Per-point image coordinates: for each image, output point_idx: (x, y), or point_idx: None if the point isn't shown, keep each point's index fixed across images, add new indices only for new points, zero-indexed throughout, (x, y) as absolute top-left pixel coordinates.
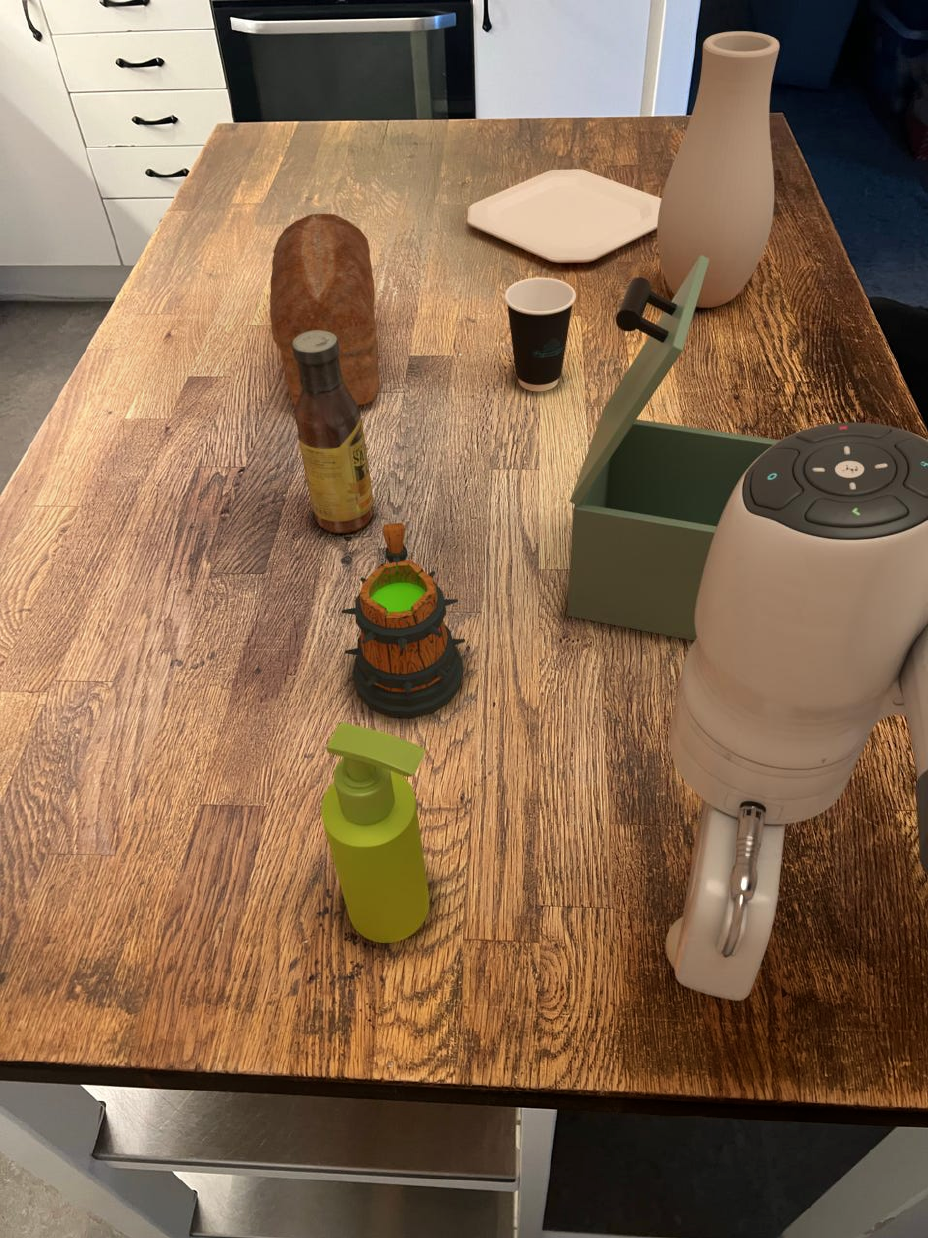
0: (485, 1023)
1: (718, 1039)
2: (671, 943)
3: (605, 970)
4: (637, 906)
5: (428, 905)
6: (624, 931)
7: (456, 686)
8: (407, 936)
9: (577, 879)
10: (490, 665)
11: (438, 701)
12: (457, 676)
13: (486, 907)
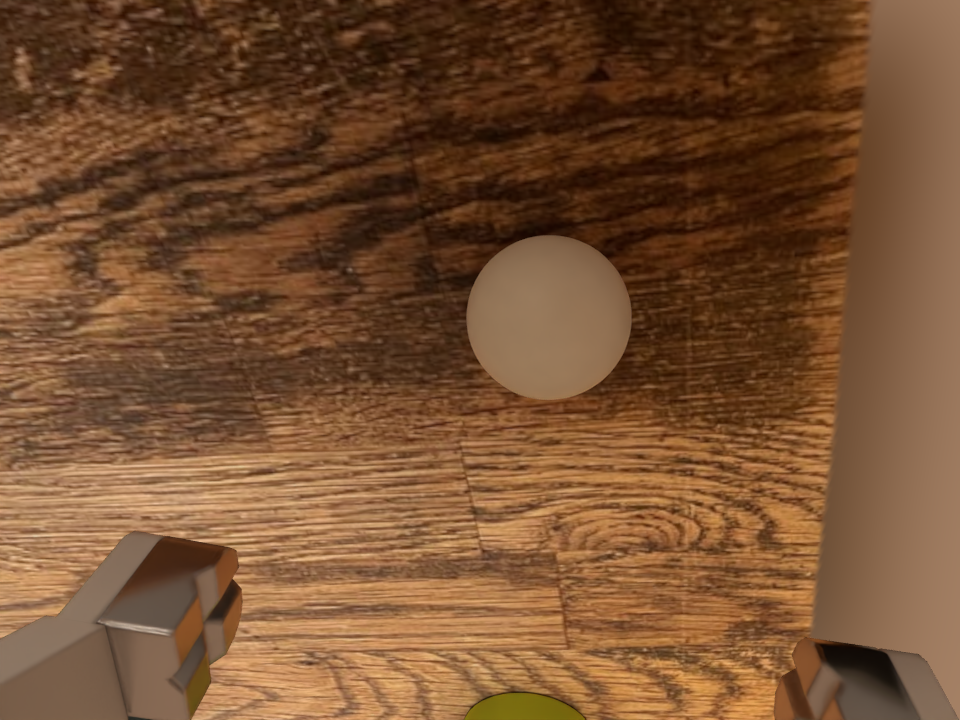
0: (714, 616)
1: (728, 235)
2: (563, 398)
3: (594, 450)
4: (444, 399)
5: (524, 703)
6: (505, 421)
7: None
8: (579, 717)
9: (413, 500)
10: None
11: (142, 718)
12: None
13: (504, 624)
